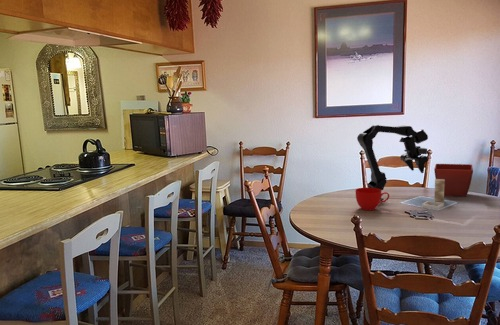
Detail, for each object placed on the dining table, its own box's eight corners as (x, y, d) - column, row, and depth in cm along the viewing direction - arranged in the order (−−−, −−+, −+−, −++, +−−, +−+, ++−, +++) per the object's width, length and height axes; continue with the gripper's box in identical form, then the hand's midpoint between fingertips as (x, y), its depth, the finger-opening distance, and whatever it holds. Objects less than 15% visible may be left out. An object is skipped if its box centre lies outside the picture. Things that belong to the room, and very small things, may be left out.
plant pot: (433, 197, 221) (434, 168, 219) (435, 190, 238) (435, 163, 235) (472, 200, 212) (473, 170, 210) (471, 192, 229) (472, 164, 227)
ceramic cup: (391, 212, 197) (391, 193, 195) (356, 212, 200) (356, 193, 198) (387, 205, 209) (387, 187, 208) (354, 205, 213) (354, 187, 211)
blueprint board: (438, 212, 193) (438, 210, 192) (398, 204, 210) (398, 202, 210) (459, 204, 206) (459, 202, 205) (420, 197, 223) (420, 195, 223)
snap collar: (421, 206, 201) (422, 204, 200) (427, 203, 206) (427, 200, 206) (438, 209, 195) (438, 206, 195) (444, 205, 201) (444, 202, 201)
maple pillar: (434, 202, 207) (435, 180, 205) (434, 200, 211) (435, 179, 209) (443, 203, 205) (444, 181, 203) (443, 201, 209) (444, 179, 207)
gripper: (433, 143, 214) (440, 168, 217) (413, 140, 232) (419, 164, 235) (415, 150, 213) (423, 176, 216) (396, 147, 231) (403, 171, 234)
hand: (417, 171), depth 225 cm, fingers open, 9 cm apart
